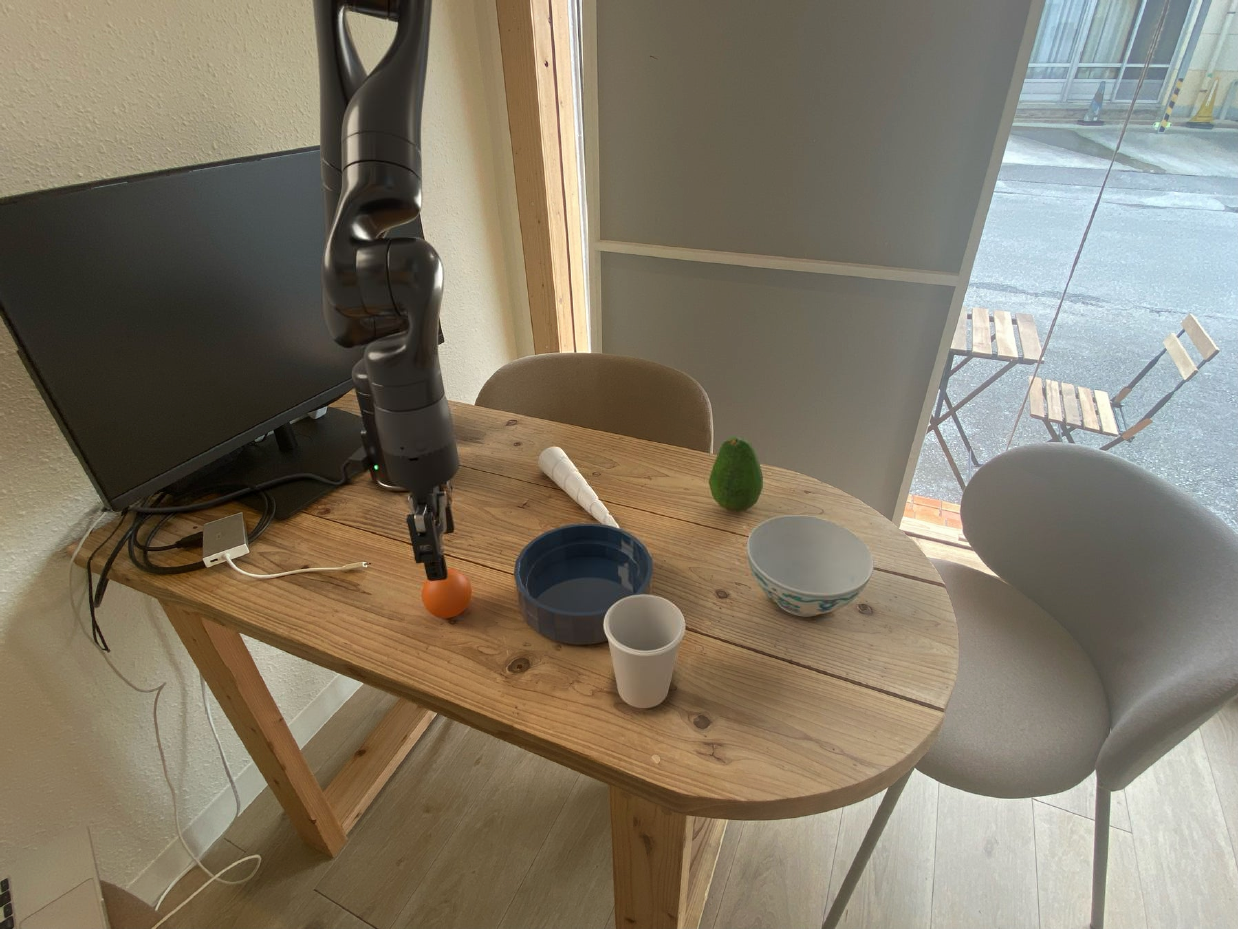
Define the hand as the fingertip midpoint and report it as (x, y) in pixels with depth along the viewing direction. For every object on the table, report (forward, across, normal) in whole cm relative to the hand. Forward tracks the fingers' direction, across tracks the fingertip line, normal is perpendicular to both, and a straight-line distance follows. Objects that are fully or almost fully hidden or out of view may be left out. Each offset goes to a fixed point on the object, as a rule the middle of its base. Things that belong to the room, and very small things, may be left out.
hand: (442, 554), depth 76 cm
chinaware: (+10, +4, +44) cm, 45 cm away
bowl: (+9, 0, +17) cm, 19 cm away
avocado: (+10, -17, +41) cm, 45 cm away
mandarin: (+6, 0, 0) cm, 6 cm away
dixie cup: (+10, +15, +22) cm, 28 cm away
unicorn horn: (+9, -22, +18) cm, 30 cm away
